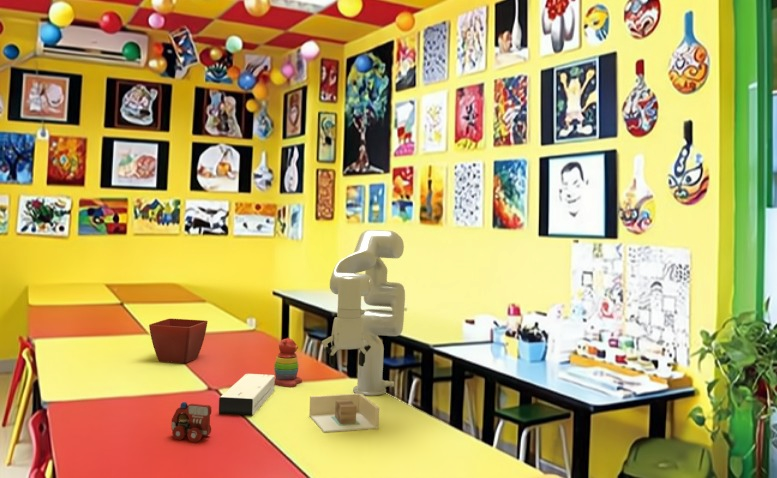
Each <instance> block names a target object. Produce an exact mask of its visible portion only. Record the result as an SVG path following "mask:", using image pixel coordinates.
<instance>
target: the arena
mask: <svg viewBox="0 0 777 478" xmlns="http://www.w3.org/2000/svg"><path fill="white" fill-rule="evenodd" d="M336 400H351V401H352V402H353V403H354V404H355V405H356V423H355V424H340V423H339V422H338V420H337V419H336V418H335V403H336ZM309 418H311V419H312V421H313V422H314V423H315V424H316V426H318V428H319V429H320V430H321V431H322V433H324V434H325V433H338V432H348V431H349V432H351V431H363V430H365V431H366V430H374V429H375V430H376V429H378V430H379V425H380V407H379V406H378V405H377V404H375V403H374V402H373V401H372V400H370V399H369V397H367V396H366V395H363V394H362V393H343V394H327V395H325V394H324V395H310V396H309Z"/></svg>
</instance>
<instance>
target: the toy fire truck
mask: <svg viewBox="0 0 777 478" xmlns="http://www.w3.org/2000/svg"><path fill="white" fill-rule="evenodd" d="M211 415H212V407H211V405H208V404H199V403H189V404H188V403H187V401H184V402H181V403H180V407H178V408H176V410H175V412H174V414H173V416H172V418H171V430H172V433H171V435H172V437H173V438H174V439H175V440H177V441H182V440H183V439H185V438H186V436H187V438H188V441H190V442H191V443H197V442H199V441H201V439H202V436H204V437H207V436H210V434H211V433H212V427H211Z"/></svg>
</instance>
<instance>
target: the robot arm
mask: <svg viewBox="0 0 777 478" xmlns="http://www.w3.org/2000/svg"><path fill="white" fill-rule="evenodd" d="M404 248H405V246H404V241H403V238H402V237H401V236H400V235H399V234H398V233H397V232H395V231H393V230H384V229H383V230H382V229H381V230H380V229H379V230H378V229H367V230H364V231H363V232H362V233H361V234H360V235H359V237H358V241H357V243H356V245H355V248H354V251H353V253H350V254H349V255H347V256H345V257H344V258H342V259H340V260H339V261H338V262H337V263H336V264H335V266H334V268H333V270H332V273H331V276H330V279H329V289H330V291H331V292H332V293H333V294H335V295H337V313H336V314H337V317H334V319H333V323H332V330H331V336H328V337H327V338H325V339H323V340H322V341H321V345H322V347H323V348H324V350H325V351H326V352H327V353H328V354H329V356H328V359H329V360H328V363H329V366H330V367H331V368H336V352H337V351H339V350H358V361H357V363H358V364H357V385H355V386H353V388H352V392H353V393H354V394H357V393H362V394H363V395H364V396H368V397H369V396H382V395H384V394H386V392H387V387H389V388H390V387H394V386H395V382H394V381H389V380H384V379H383V372H384V371H383V370H384V369H383V368H384V350H385V348H384V344H383V341H382V340H381V339H380V337H379V336H387V337H398V336H400V335H401V334H402V333H403V330H404V319H405V307H406V306H405V303H406V290H405V287H404V285H403V284H402V283H401V282H391V281H389V282H388V268H387V265H386V264H385V263H384V261H383V260H382V259H383V258H384V259H400V258H401V257H402V256H403V253H404ZM362 272H365V273H362ZM362 297H363V301H364V304H366V305H368V306H372V307H385V308H386V307H387V308H391V309H392V310H385V309H384V310H383V309H372V308H371V309H370V308H368V309H362ZM329 343H330V344H331V347H329V345H328V344H329Z"/></svg>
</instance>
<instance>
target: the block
mask: <svg viewBox="0 0 777 478" xmlns="http://www.w3.org/2000/svg"><path fill="white" fill-rule="evenodd" d="M335 418H336V419H337V420H338V422H339V423H340V424H355V423H356V405H355V404H354V403H353V402H352V401H351V400H336V403H335Z"/></svg>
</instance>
